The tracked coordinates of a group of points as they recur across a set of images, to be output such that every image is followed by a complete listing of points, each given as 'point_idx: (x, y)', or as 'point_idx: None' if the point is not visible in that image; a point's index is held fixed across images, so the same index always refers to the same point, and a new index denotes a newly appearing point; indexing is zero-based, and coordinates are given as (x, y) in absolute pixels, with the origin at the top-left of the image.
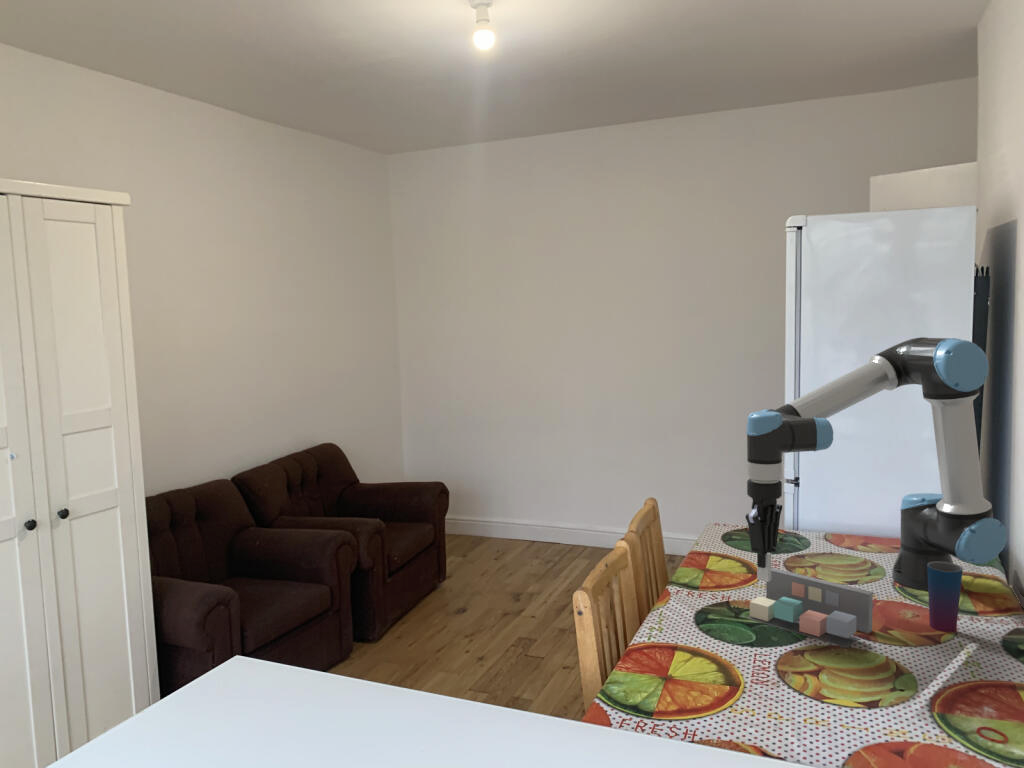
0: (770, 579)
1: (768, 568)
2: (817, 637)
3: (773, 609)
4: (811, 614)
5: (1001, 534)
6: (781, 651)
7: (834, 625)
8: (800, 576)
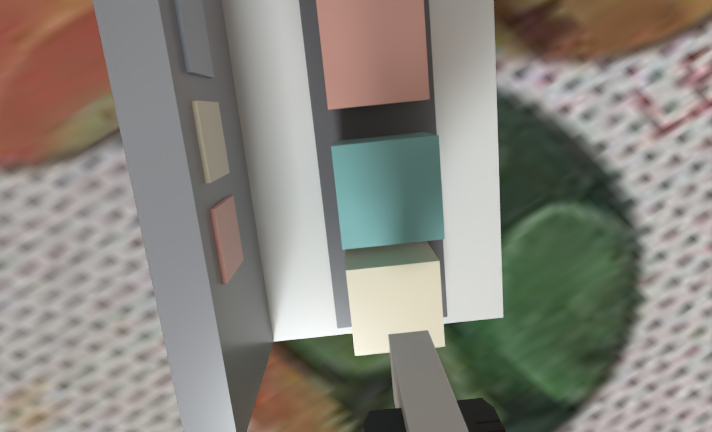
0: (399, 336)
1: (441, 379)
2: None
3: (380, 257)
4: (372, 67)
5: None
6: (577, 77)
7: None
8: (182, 259)
